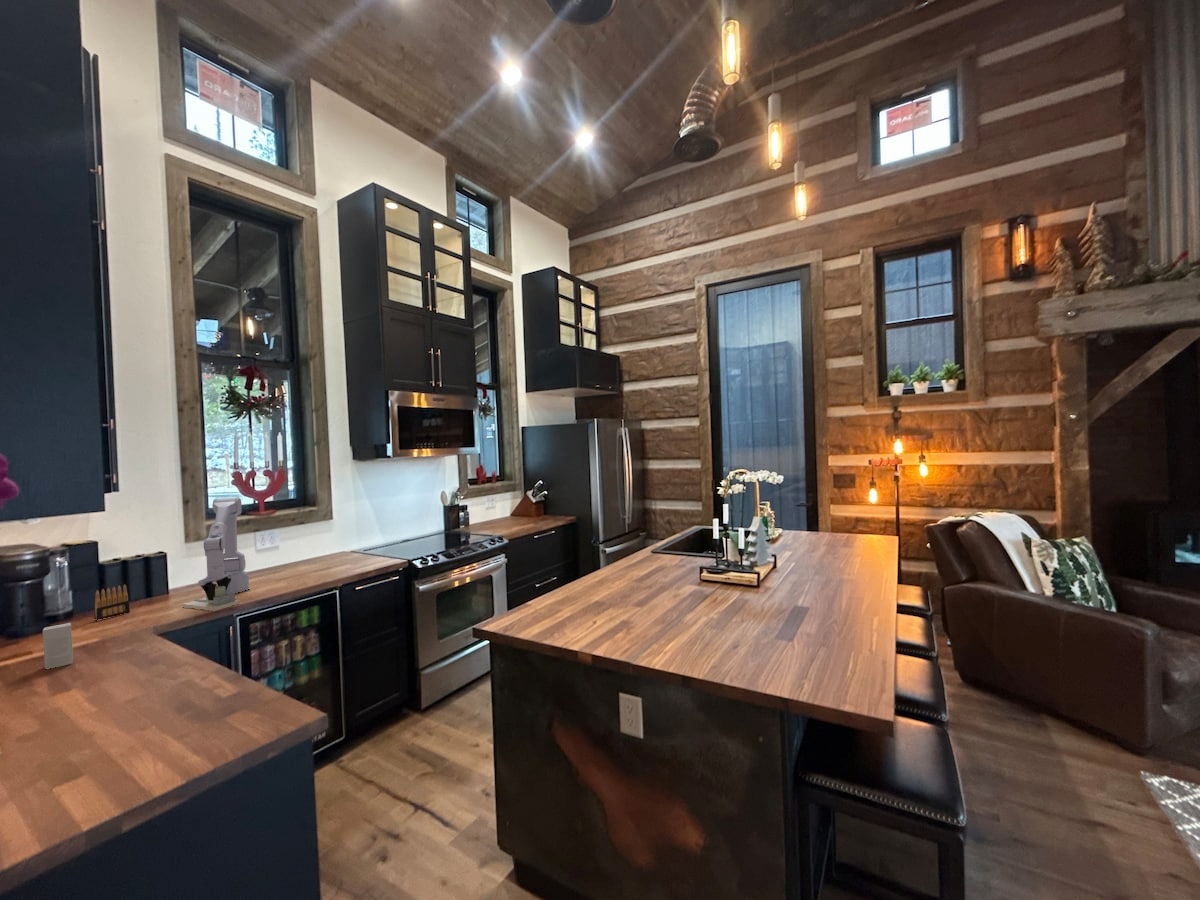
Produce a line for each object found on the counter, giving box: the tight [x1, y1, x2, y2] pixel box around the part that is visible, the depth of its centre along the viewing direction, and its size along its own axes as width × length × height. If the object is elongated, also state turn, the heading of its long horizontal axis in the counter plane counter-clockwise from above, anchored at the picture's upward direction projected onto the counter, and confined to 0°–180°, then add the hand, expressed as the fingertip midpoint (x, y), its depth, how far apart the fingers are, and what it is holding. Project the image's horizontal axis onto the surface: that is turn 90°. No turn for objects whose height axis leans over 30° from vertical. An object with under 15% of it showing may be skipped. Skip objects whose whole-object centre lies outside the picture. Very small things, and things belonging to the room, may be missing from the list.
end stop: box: [213, 593, 236, 606], centre depth 215 cm, size 7×2×4 cm, turn 159°
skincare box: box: [42, 622, 74, 670], centre depth 159 cm, size 6×4×12 cm
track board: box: [182, 597, 240, 612], centre depth 218 cm, size 10×20×2 cm, turn 69°
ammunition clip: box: [93, 583, 131, 620], centre depth 207 cm, size 11×2×12 cm, turn 159°
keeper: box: [205, 585, 226, 603], centre depth 216 cm, size 4×6×6 cm, turn 69°
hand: (216, 598), depth 216 cm, fingers closed on keeper, 5 cm apart
